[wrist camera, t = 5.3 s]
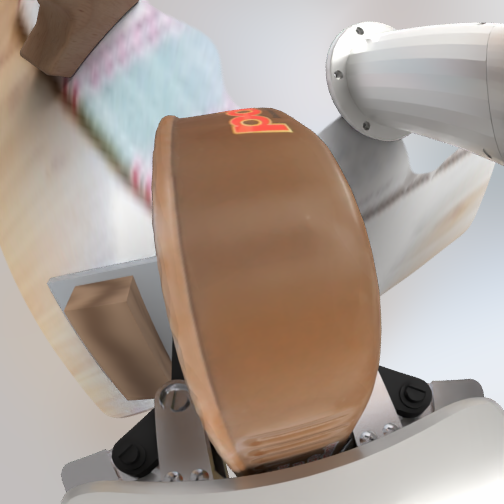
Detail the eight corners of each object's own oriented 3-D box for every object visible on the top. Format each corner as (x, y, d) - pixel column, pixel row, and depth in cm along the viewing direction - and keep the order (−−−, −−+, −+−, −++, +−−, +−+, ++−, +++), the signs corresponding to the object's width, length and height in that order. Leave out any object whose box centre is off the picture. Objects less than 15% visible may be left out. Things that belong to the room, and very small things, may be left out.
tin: (175, 111, 8) (-13, 201, 1) (269, 99, 8) (503, 144, 1) (233, 381, 16) (251, 507, 9) (283, 372, 16) (314, 496, 9)
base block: (132, 275, 25) (126, 301, 22) (176, 371, 34) (177, 395, 30) (74, 286, 24) (63, 311, 21) (129, 376, 33) (127, 400, 29)
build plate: (164, 254, 26) (163, 260, 25) (202, 365, 35) (203, 371, 35) (50, 278, 24) (47, 283, 23) (112, 376, 34) (111, 382, 33)
